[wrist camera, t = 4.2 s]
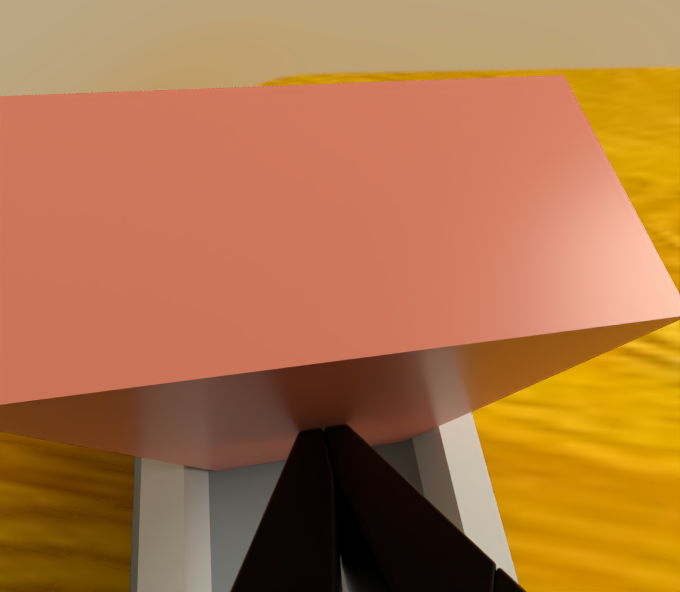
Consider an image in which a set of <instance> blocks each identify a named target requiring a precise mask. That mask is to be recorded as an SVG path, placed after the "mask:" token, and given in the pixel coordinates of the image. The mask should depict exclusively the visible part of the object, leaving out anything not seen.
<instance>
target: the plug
mask: <svg viewBox="0 0 680 592" xmlns="http://www.w3.org/2000/svg"><path fill="white" fill-rule="evenodd" d="M678 320H680V295H679V293H678V291H677V289H676V287H675V285H674V284H673V282H672V280H671V278H670V276H669V274H668V272H667V270H666V268H665V266H664V265H663V263H662V261H661V259H660V257H659V255H658V253H657V251H656V249H655V247H654V246H653V244H652V242H651V240H650V238H649V236H648V234H647V232H646V230H645V228H644V227H643V225H642V223H641V221H640V219H639V217H638V215H637V213H636V211H635V209H634V207H633V206H632V204H631V202H630V200H629V198H628V196H627V194H626V192H625V190H624V188H623V187H622V185H621V183H620V181H619V179H618V177H617V175H616V173H615V171H614V169H613V168H612V166H611V164H610V162H609V160H608V158H607V156H606V154H605V152H604V150H603V149H602V147H601V145H600V143H599V141H598V139H597V137H596V135H595V133H594V131H593V130H592V128H591V126H590V124H589V122H588V120H587V118H586V116H585V114H584V112H583V111H582V109H581V107H580V105H579V103H578V101H577V99H576V97H575V95H574V93H573V92H572V90H571V88H570V86H569V84H568V82H567V80H566V78H565V76H564V75H553V76H527V77H500V78H474V79H447V80H421V81H394V82H368V83H341V84H315V85H288V86H262V87H235V88H212V89H211V88H210V89H209V88H208V89H184V90H156V91H133V92H132V91H129V92H105V93H104V92H102V93H77V94H49V95H24V96H0V432H5V433H10V434H16V435H21V436H27V437H32V438H38V439H43V440H49V441H54V442H60V443H65V444H71V445H76V446H81V447H87V448H92V449H98V450H103V451H109V452H114V453H120V454H125V455H131V456H136V457H142V458H147V459H152V460H158V461H163V462H169V463H174V464H180V465H185V466H191V467H196V468H202V469H207V470H213V471H221V470H227V469H234V468H240V467H246V466H252V465H258V464H265V463H271V462H277V461H283V460H287V458H288V455H289V453H290V451H291V448H292V446H293V444H294V441H295V439H296V437H297V435H298V433H299V432H300V431H303V430H310V429H317V428H321V429H322V430H323V431H324V429H325V428H326V427H330V426H336V425H343V424H347V425H349V426H350V427H351V428H352V429H353V430H354V431H355V432H356V433H357V434H358V435H360V436H361V437H362V438H363V439H364V440H365V441H366V442H367V443H368V444H369V445H370V446H377V445H383V444H390V443H396V442H402V441H407V440H409V439H411V438H414V437H416V436H418V435H420V434H423V433H425V432H427V431H429V430H432V429H434V428H436V427H438V426H441V425H443V424H445V423H447V422H450V421H452V420H454V419H456V418H459V417H461V416H463V415H466V414H468V413H470V412H472V411H475V410H477V409H479V408H481V407H484V406H486V405H488V404H490V403H493V402H495V401H497V400H499V399H502V398H504V397H506V396H508V395H511V394H513V393H515V392H517V391H520V390H522V389H524V388H526V387H529V386H531V385H533V384H535V383H538V382H540V381H542V380H545V379H547V378H549V377H551V376H554V375H556V374H558V373H560V372H563V371H565V370H567V369H569V368H572V367H574V366H576V365H578V364H581V363H583V362H585V361H587V360H590V359H592V358H594V357H596V356H599V355H601V354H603V353H605V352H608V351H610V350H612V349H615V348H617V347H619V346H621V345H624V344H626V343H628V342H630V341H633V340H635V339H637V338H639V337H642V336H644V335H646V334H648V333H651V332H653V331H655V330H657V329H660V328H662V327H664V326H666V325H669V324H671V323H673V322H675V321H678Z"/></svg>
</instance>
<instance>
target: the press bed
mask: <svg viewBox="0 0 680 592" xmlns="http://www.w3.org/2000/svg"><path fill="white" fill-rule="evenodd" d="M371 447H372V448H373V449H374V450H376V451H377V452H378V453H379V454H380V455H381V456H382V457H383V458H384V459H385V460H386V461H387V462H388V463H389V464H390V465H392V466H393V467H394V468H395V469H396V470H397V471H398V472H399V473H400V474H401V475H402V476H403V477H404V478H405V479H406V480H408V481H409V482H410V483H411V484H412V485H413V486H414V487H415V488H416V489H417V490H418V491H419V492H420V493H421V494H423V495H424V496H425V497H426V498H427V499H428V500H429V501H430V502H431V503H432V504H433V505H434V506H435V507H436V508H437V509H439V510H440V511H441V512H442V513H443V514H444V515H445V516H446V517H447V518H448V519H449V520H450V521H451V522H452V523H453V524H455V525H456V526H457V527H458V528H459V529H460V530H461V531H462V532H463V533H464V534H465V535H466V536H467V537H468V538H469V539H471V540H472V541H473V542H474V543H475V544H476V545H477V546H478V547H479V548H480V549H481V550H482V551H483V552H484V553H485V554H487V555H488V556H489V557H490V558H491V559H492V560H493V561H494V562H495V563H496V570H497V568H502V569H503V570H504V571H505V572H506V573H507V574H508V575H509V576H510V577H511V578H512V579H513V580H515V581H516V582H517V583H518V580H517V576H516V573H515V569H514V565H513V562H512V558H511V554H510V551H509V547H508V544H507V540H506V536H505V533H504V529H503V525H502V522H501V518H500V514H499V511H498V507H497V503H496V500H495V496H494V492H493V489H492V485H491V482H490V478H489V474H488V471H487V467H486V463H485V460H484V456H483V452H482V449H481V445H480V441H479V438H478V434H477V430H476V427H475V423H474V420H473V416H472V412H470V413H468V414H466V415H463V416H461V417H459V418H456V419H454V420H452V421H450V422H447V423H445V424H443V425H441V426H438V427H436V428H434V429H432V430H429V431H427V432H425V433H423V434H420V435H418V436H416V437H414V438H411V439H409V440H407V441H402V442H396V443H390V444H383V445H377V446H371ZM285 462H286V460H283V461H277V462H271V463H265V464H258V465H252V466H246V467H240V468H234V469H227V470H221V471H213V470H207V469H202V468H196V467H191V466H185V465H180V464H174V463H169V462H163V461H158V460H152V459H147V458H142V457H136V456H135V469H134V495H133V521H132V547H131V573H130V592H230V590H231V588H232V586H233V583H234V581H235V579H236V576H237V574H238V572H239V569H240V567H241V565H242V563H243V560H244V558H245V556H246V553H247V551H248V549H249V546H250V544H251V542H252V539H253V537H254V535H255V532H256V530H257V528H258V525H259V523H260V521H261V518H262V516H263V514H264V511H265V509H266V507H267V504H268V502H269V500H270V497H271V495H272V493H273V490H274V488H275V486H276V483H277V481H278V479H279V476H280V474H281V472H282V469H283V467H284V465H285ZM340 559H341V558H340ZM341 573H342V589H343V592H348V589H347V585H346V581H345V577H344V573H343V569H342V564H341Z"/></svg>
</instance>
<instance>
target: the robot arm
mask: <svg viewBox="0 0 680 592" xmlns="http://www.w3.org/2000/svg"><path fill="white" fill-rule="evenodd" d="M340 558H341V559H340ZM341 564H342V569H343V573H344V577H345V581H346V585H347V589H348V592H526V591H525V590H524V589H523V588H522V587H521V586H520V585H519V584H518V583H517V582H516V581H515V580H513V579H512V578H511V577H510V576H509V575H508V574H507V573H506V572H505V571H504V570H503V569H502V568H497V570H496V563H495V562H494V561H493V560H492V559H491V558H490V557H489V556H488V555H487V554H485V553H484V552H483V551H482V550H481V549H480V548H479V547H478V546H477V545H476V544H475V543H474V542H473V541H472V540H471V539H469V538H468V537H467V536H466V535H465V534H464V533H463V532H462V531H461V530H460V529H459V528H458V527H457V526H456V525H455V524H453V523H452V522H451V521H450V520H449V519H448V518H447V517H446V516H445V515H444V514H443V513H442V512H441V511H440V510H439V509H437V508H436V507H435V506H434V505H433V504H432V503H431V502H430V501H429V500H428V499H427V498H426V497H425V496H424V495H423V494H421V493H420V492H419V491H418V490H417V489H416V488H415V487H414V486H413V485H412V484H411V483H410V482H409V481H408V480H406V479H405V478H404V477H403V476H402V475H401V474H400V473H399V472H398V471H397V470H396V469H395V468H394V467H393V466H392V465H390V464H389V463H388V462H387V461H386V460H385V459H384V458H383V457H382V456H381V455H380V454H379V453H378V452H377V451H376V450H374V449H373V448H372V447H371V446H370V445H369V444H368V443H367V442H366V441H365V440H364V439H363V438H362V437H361V436H360V435H358V434H357V433H356V432H355V431H354V430H353V429H352V428H351V427H350V426H349V425H347V424H343V425H336V426H330V427H326V428H325V429H324V431H323V430H322V429H321V428H317V429H310V430H303V431H300V432H299V433H298V435H297V437H296V439H295V441H294V444H293V446H292V448H291V451H290V453H289V455H288V458H287V460H286V462H285V465H284V467H283V469H282V472H281V474H280V476H279V479H278V481H277V483H276V486H275V488H274V490H273V493H272V495H271V497H270V500H269V502H268V504H267V507H266V509H265V511H264V514H263V516H262V518H261V521H260V523H259V525H258V528H257V530H256V532H255V535H254V537H253V539H252V542H251V544H250V546H249V549H248V551H247V553H246V556H245V558H244V560H243V563H242V565H241V567H240V569H239V572H238V574H237V576H236V579H235V581H234V583H233V586H232V588H231V590H230V592H343V589H342V573H341Z"/></svg>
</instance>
